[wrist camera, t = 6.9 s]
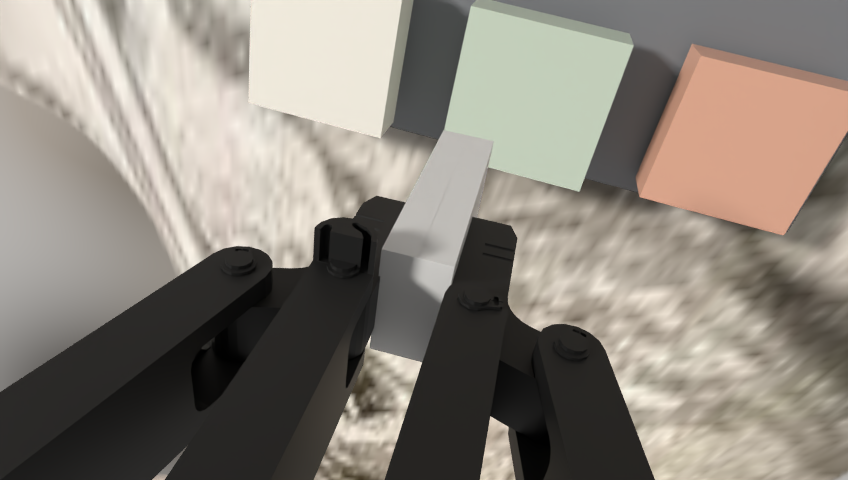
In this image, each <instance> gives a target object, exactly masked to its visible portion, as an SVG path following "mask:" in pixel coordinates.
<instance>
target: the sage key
mask: <svg viewBox="0 0 848 480" xmlns="http://www.w3.org/2000/svg"><path fill="white" fill-rule="evenodd" d="M633 46H634V45H633V42H632V39H631V36H630V34H629V33H625V32H621V31H617V30H613V29H609V28H605V27H600V26H596V25H592V24H588V23H584V22H580V21H576V20H571V19H567V18H563V17H559V16H555V15H551V14H547V13H542V12H538V11H534V10H530V9H526V8H522V7H518V6H513V5H509V4H505V3H501V2H497V1H493V0H476V1H475V2H474V3H473V4H472V5H471V8H470V13H469V17H468V22H467V27H466V31H465V36H464V40H463V45H462V50H461V54H460V59H459V63H458V68H457V73H456V77H455V82H454V87H453V91H452V96H451V100H450V105H449V110H448V114H447V119H446V123H445V128H444V130H445V131H450V132H455V133H459V134H464V135H468V136H473V137H477V138H482V139H487V140H491V141H494V143H493V148H492V152H491V157H490V161H489V166H488V167H489V168H493V169H496V170H500V171H504V172H508V173H511V174H515V175H519V176H522V177H526V178H530V179H534V180H537V181H541V182H545V183H549V184H552V185H556V186H560V187H563V188H567V189H571V190H575V191H578V192H580V189H581V186H582V183H583V181H584V178H585V175H586V173H587V170H588V167H589V165H590V162H591V159H592V157H593V154H594V151H595V148H596V146H597V143H598V140H599V138H600V135H601V132H602V130H603V127H604V124H605V122H606V119H607V116H608V113H609V111H610V108H611V105H612V103H613V100H614V97H615V95H616V92H617V89H618V87H619V84H620V81H621V79H622V76H623V73H624V70H625V68H626V65H627V62H628V60H629V57H630V54H631V52H632V49H633Z"/></svg>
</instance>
